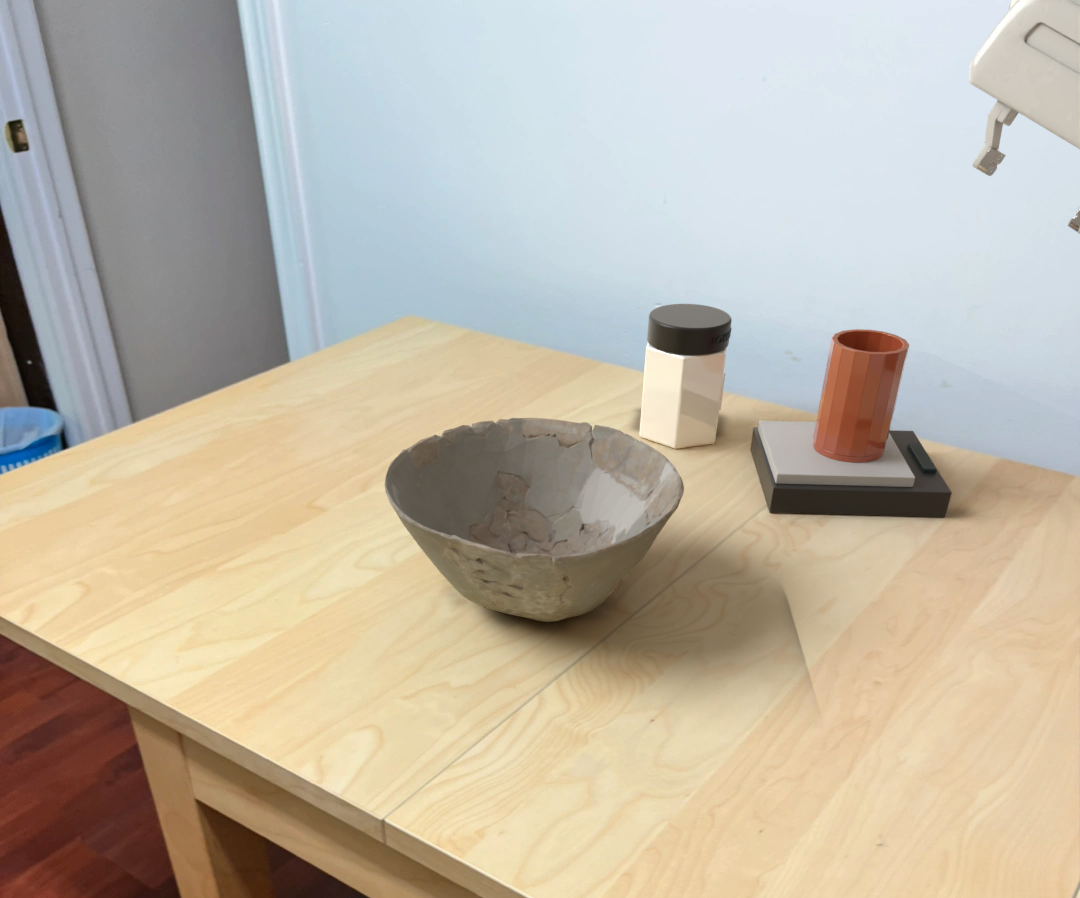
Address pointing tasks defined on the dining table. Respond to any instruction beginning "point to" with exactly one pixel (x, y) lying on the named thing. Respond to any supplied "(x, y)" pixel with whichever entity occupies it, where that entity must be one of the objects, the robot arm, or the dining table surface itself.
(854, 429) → the cup
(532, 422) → the ceramic bowl
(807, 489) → the kitchen scale
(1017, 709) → the dining table surface
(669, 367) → the jar
